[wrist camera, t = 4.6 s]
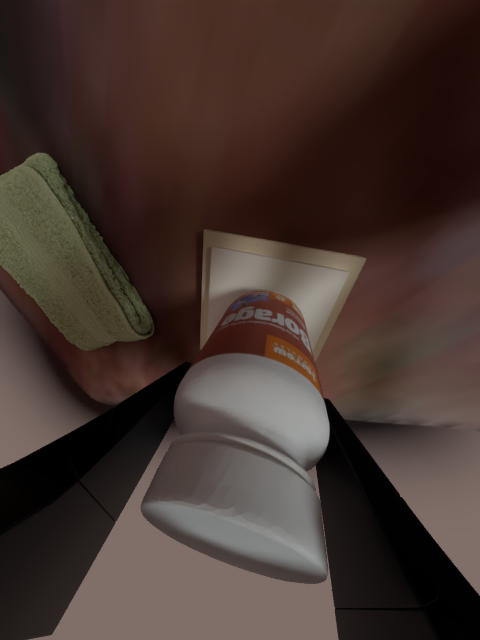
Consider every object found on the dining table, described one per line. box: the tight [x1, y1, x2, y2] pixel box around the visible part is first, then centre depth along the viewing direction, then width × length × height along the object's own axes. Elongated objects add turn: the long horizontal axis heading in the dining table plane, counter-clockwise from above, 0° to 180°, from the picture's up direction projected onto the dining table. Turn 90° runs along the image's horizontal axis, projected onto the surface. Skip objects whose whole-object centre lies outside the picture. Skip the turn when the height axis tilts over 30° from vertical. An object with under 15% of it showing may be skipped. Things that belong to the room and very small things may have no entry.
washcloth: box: [0, 153, 154, 351], centre depth 18 cm, size 13×18×3 cm
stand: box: [200, 229, 367, 362], centre depth 16 cm, size 12×12×2 cm
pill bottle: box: [141, 289, 329, 584], centre depth 9 cm, size 6×6×11 cm
